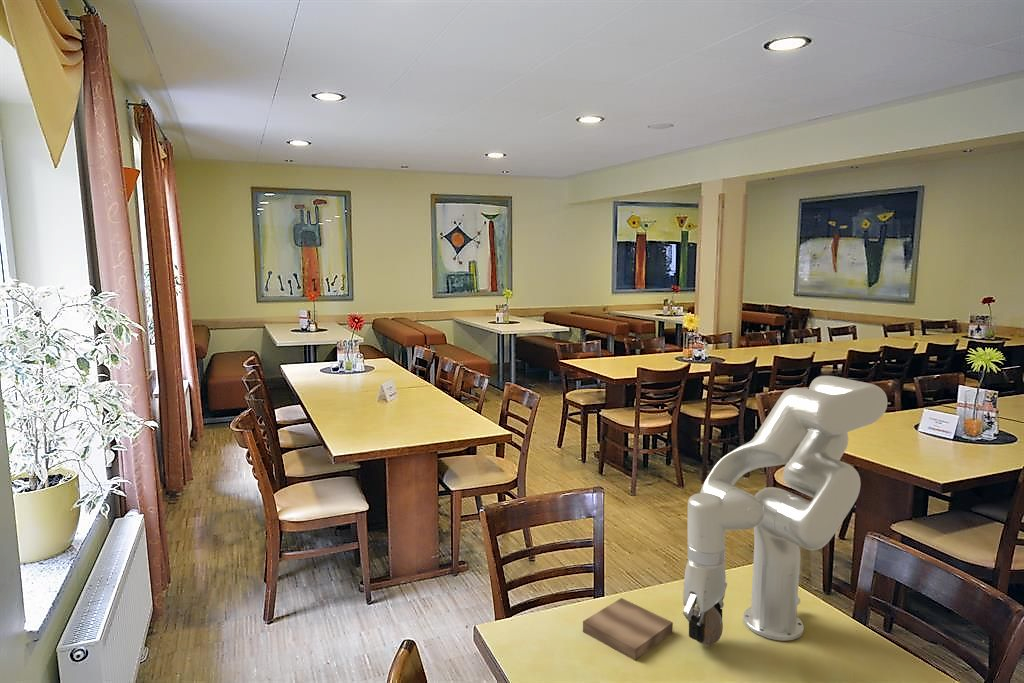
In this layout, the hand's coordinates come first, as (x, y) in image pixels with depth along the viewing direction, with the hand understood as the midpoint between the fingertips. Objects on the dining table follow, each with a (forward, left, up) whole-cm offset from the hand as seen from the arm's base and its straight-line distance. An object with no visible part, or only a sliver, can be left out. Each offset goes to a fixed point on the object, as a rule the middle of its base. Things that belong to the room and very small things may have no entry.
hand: (705, 630), depth 136 cm
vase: (0, 0, -2) cm, 2 cm away
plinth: (+8, -14, -3) cm, 17 cm away
